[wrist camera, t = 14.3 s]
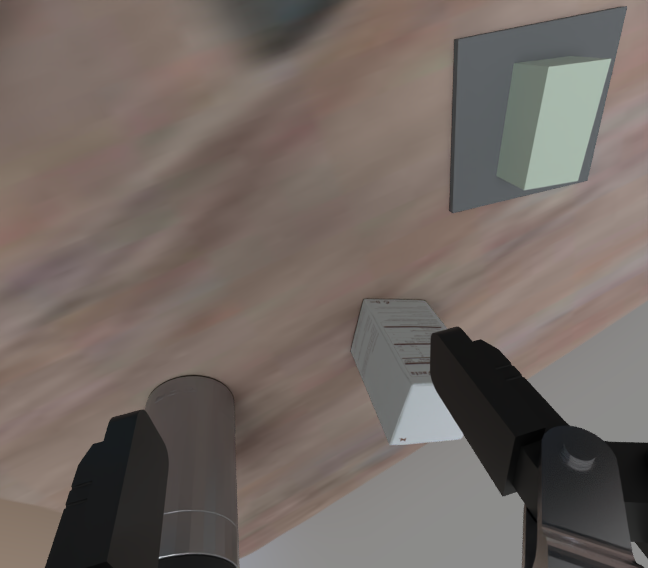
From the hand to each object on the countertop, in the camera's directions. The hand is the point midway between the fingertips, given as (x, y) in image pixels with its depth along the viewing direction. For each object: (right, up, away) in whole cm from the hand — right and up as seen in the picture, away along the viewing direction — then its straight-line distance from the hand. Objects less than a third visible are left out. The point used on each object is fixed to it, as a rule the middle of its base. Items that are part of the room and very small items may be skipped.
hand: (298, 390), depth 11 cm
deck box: (+18, +17, +23) cm, 34 cm away
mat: (+18, +17, +23) cm, 34 cm away
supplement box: (+8, -1, +33) cm, 34 cm away
